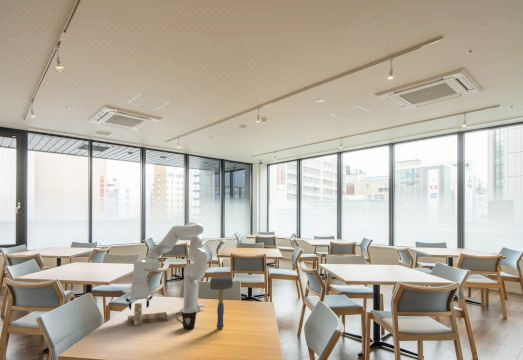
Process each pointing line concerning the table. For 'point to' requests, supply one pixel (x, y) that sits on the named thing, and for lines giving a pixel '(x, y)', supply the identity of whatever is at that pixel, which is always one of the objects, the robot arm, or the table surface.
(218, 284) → the rubber mallet
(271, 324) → the table surface
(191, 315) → the coffee mug
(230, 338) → the table surface
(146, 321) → the walnut board
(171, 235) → the robot arm
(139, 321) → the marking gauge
